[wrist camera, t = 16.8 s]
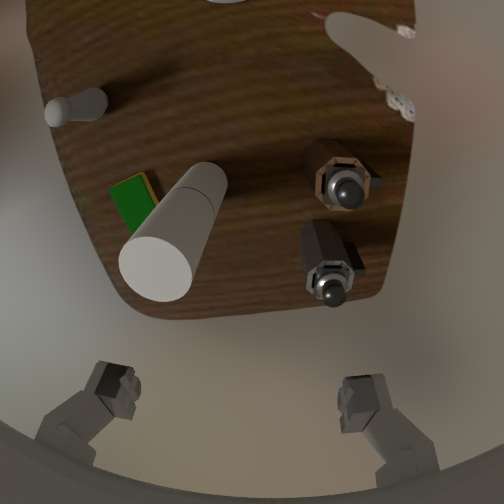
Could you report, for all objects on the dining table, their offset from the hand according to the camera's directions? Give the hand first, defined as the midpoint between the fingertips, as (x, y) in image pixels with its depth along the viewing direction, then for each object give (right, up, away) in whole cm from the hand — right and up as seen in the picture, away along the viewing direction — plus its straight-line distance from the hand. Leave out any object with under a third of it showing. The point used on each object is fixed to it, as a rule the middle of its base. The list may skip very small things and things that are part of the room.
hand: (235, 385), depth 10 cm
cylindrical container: (-7, +16, +37) cm, 41 cm away
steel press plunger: (+12, +5, +37) cm, 39 cm away
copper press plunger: (+12, +17, +30) cm, 36 cm away
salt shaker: (-25, +30, +29) cm, 49 cm away
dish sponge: (-19, +12, +40) cm, 46 cm away
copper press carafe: (+13, +19, +33) cm, 41 cm away
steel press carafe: (+13, +8, +40) cm, 43 cm away
